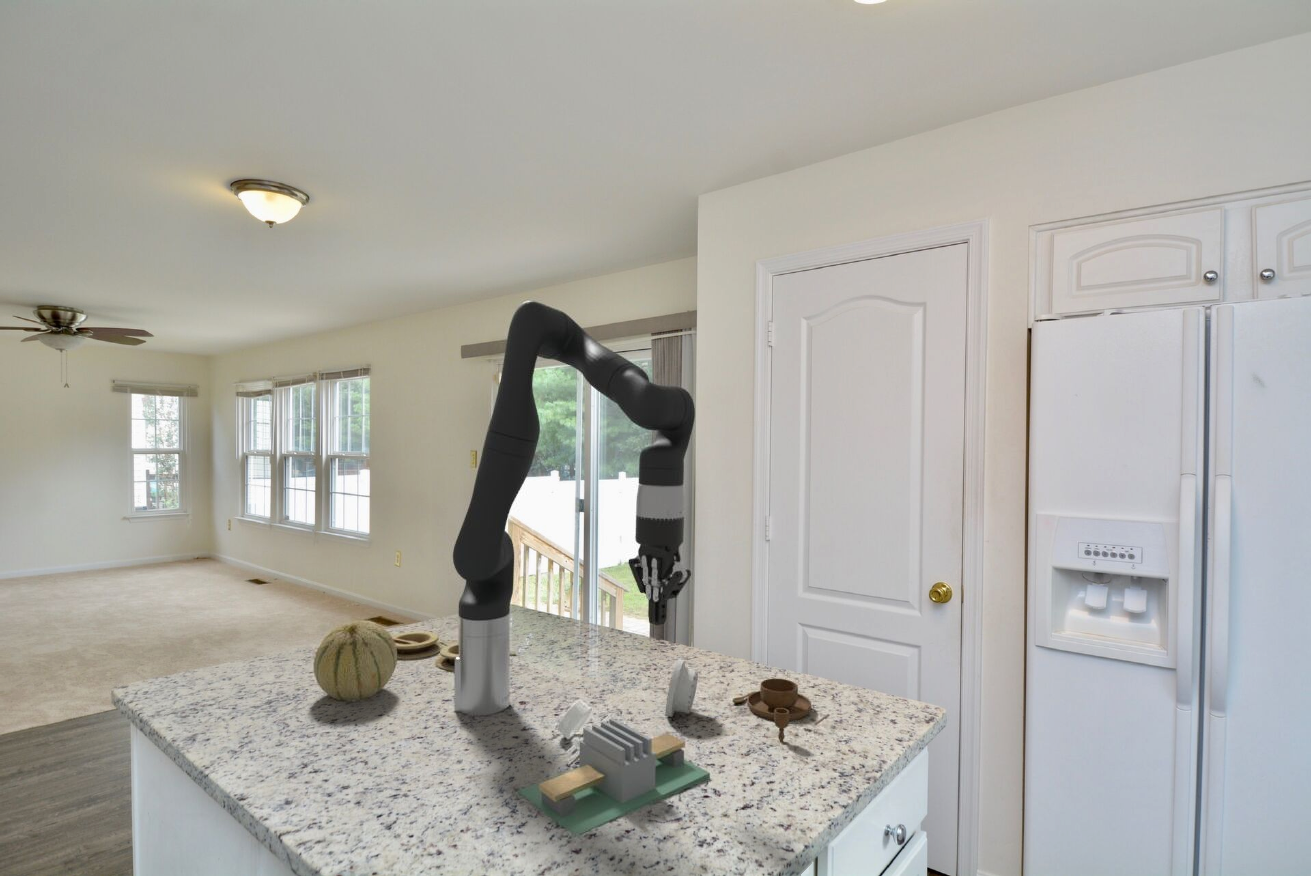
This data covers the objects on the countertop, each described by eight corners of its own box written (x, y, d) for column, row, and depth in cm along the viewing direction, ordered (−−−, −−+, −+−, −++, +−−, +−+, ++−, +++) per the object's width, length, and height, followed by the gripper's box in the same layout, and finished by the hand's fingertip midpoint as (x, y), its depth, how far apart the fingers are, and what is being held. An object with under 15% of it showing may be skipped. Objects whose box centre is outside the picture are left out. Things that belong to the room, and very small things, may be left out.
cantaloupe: (388, 678, 143) (388, 606, 142) (405, 702, 130) (405, 623, 130) (308, 693, 134) (308, 616, 134) (319, 720, 122) (319, 636, 122)
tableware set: (518, 656, 159) (518, 630, 159) (459, 684, 142) (459, 655, 142) (422, 637, 172) (422, 614, 172) (357, 661, 155) (357, 635, 155)
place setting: (837, 712, 129) (837, 681, 128) (788, 752, 113) (788, 716, 113) (754, 690, 139) (754, 661, 139) (699, 723, 123) (699, 691, 123)
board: (575, 847, 86) (575, 780, 86) (518, 801, 96) (518, 741, 96) (709, 782, 102) (710, 725, 102) (647, 748, 112) (648, 697, 112)
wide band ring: (575, 702, 125) (592, 675, 123) (617, 740, 122) (635, 712, 120) (519, 745, 108) (538, 713, 107) (566, 789, 105) (587, 758, 104)
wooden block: (645, 764, 100) (645, 758, 100) (627, 754, 103) (627, 748, 103) (685, 746, 105) (685, 741, 105) (667, 737, 108) (667, 732, 108)
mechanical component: (671, 701, 131) (680, 651, 130) (693, 707, 130) (703, 657, 129) (660, 724, 121) (670, 669, 121) (685, 730, 120) (695, 675, 120)
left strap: (555, 802, 90) (555, 796, 90) (539, 789, 93) (539, 783, 93) (604, 781, 95) (604, 775, 95) (587, 770, 98) (587, 764, 98)
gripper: (707, 516, 105) (703, 629, 105) (651, 507, 115) (648, 610, 115) (669, 520, 100) (666, 638, 100) (615, 509, 110) (612, 617, 110)
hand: (656, 623), depth 108 cm, fingers closed
